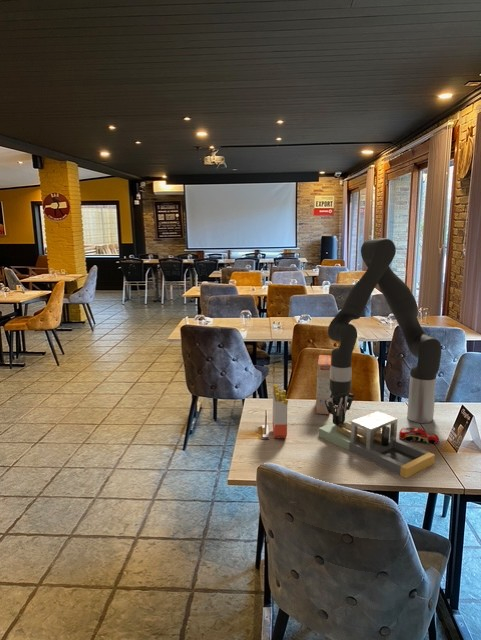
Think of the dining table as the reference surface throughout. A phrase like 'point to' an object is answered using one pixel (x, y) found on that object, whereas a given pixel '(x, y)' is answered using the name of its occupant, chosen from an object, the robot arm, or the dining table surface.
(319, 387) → the cracker box
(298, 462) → the dining table surface
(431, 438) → the race car
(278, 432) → the french fries container
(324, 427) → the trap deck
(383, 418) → the steel tunnel
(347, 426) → the ash block
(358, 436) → the sled frame
